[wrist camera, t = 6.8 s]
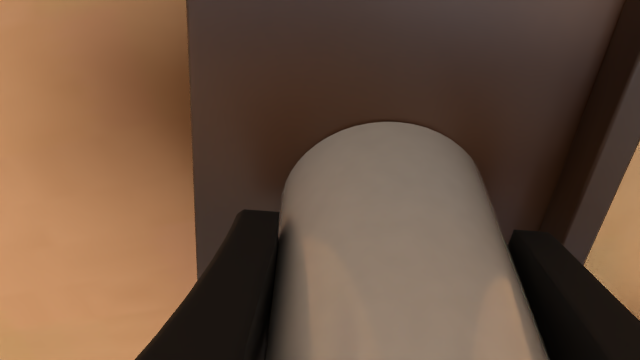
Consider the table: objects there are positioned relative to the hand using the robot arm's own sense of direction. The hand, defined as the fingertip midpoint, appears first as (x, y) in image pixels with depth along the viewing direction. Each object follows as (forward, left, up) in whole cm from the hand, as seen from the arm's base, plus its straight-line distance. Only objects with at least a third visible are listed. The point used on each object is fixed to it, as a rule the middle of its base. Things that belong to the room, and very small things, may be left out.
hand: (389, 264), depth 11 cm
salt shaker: (0, 0, -2) cm, 2 cm away
